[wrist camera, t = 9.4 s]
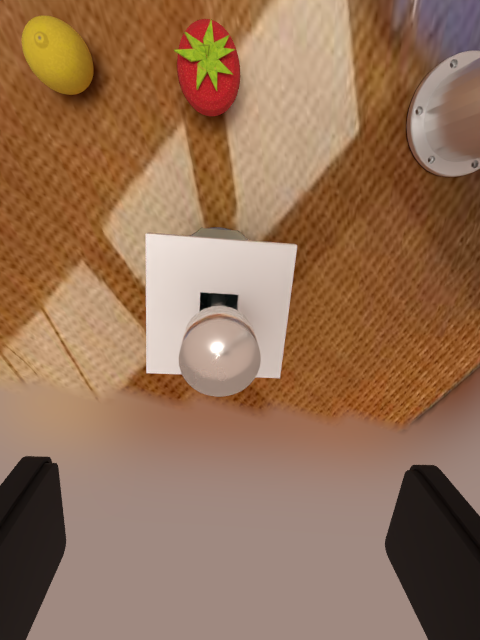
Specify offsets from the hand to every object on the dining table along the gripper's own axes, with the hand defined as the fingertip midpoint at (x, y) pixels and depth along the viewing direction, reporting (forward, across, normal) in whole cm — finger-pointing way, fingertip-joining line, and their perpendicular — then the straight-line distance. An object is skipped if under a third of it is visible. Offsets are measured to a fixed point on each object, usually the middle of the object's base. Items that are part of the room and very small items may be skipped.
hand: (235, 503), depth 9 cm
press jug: (+36, +1, +2) cm, 36 cm away
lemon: (+36, +17, -20) cm, 44 cm away
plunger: (+34, 0, 0) cm, 34 cm away
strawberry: (+36, +3, -20) cm, 41 cm away
